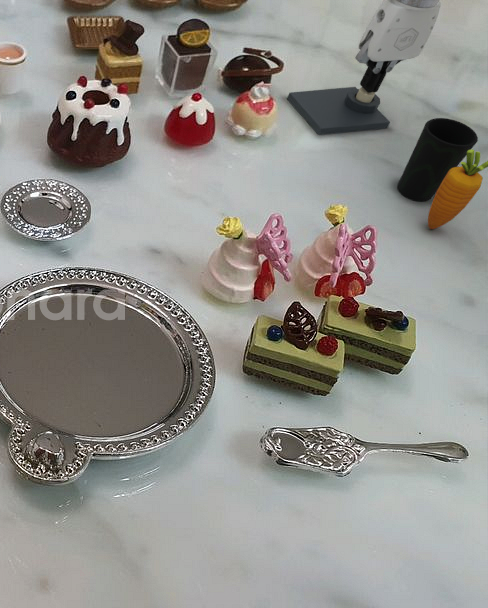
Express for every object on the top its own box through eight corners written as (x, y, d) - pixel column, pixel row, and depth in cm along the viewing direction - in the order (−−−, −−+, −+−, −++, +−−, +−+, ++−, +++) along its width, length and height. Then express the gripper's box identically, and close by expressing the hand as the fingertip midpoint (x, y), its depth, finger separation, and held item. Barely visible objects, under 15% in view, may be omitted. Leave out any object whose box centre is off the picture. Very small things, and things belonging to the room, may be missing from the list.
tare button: (366, 94, 142) (370, 86, 141) (374, 102, 140) (378, 94, 139) (352, 95, 142) (356, 87, 141) (360, 103, 140) (364, 95, 139)
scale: (353, 92, 147) (360, 79, 145) (388, 128, 140) (396, 114, 137) (286, 98, 145) (292, 85, 143) (318, 135, 138) (324, 121, 135)
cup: (429, 212, 124) (469, 152, 115) (383, 191, 127) (418, 131, 118) (445, 190, 127) (484, 131, 119) (400, 171, 131) (435, 111, 122)
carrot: (453, 231, 121) (507, 155, 109) (436, 243, 119) (489, 167, 107) (425, 214, 123) (475, 138, 112) (407, 225, 121) (456, 149, 110)
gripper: (389, 5, 122) (342, 103, 136) (470, 0, 125) (415, 96, 138) (364, -16, 127) (320, 80, 141) (442, -21, 129) (392, 74, 143)
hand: (368, 88), depth 140 cm, fingers closed
